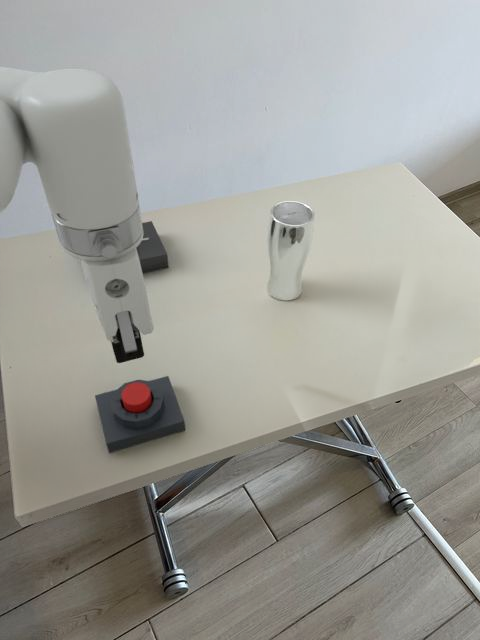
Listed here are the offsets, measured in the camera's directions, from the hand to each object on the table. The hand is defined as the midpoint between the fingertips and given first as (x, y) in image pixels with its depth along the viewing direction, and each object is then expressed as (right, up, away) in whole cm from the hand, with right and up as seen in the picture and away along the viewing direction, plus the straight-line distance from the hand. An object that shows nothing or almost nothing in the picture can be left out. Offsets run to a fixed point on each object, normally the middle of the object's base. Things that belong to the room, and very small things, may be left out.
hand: (129, 355), depth 62 cm
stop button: (-1, -6, +7) cm, 9 cm away
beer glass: (+19, +11, +28) cm, 36 cm away
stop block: (-1, -8, +10) cm, 13 cm away
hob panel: (-9, +17, +31) cm, 37 cm away
